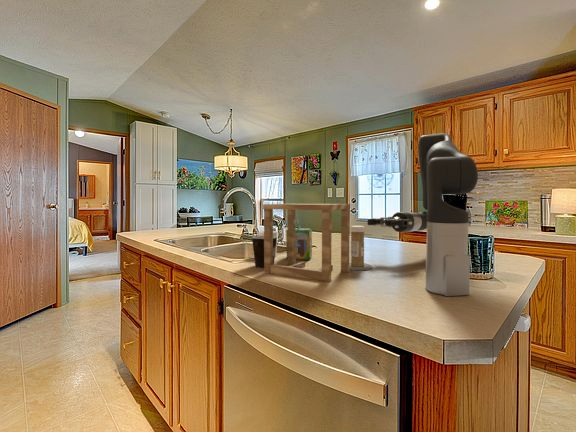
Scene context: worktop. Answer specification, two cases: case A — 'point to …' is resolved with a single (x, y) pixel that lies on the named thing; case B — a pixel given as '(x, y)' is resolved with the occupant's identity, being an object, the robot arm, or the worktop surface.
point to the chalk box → (302, 243)
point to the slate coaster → (365, 267)
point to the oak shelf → (294, 269)
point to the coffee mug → (261, 250)
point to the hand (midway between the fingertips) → (377, 222)
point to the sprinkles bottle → (357, 246)
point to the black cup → (275, 233)
